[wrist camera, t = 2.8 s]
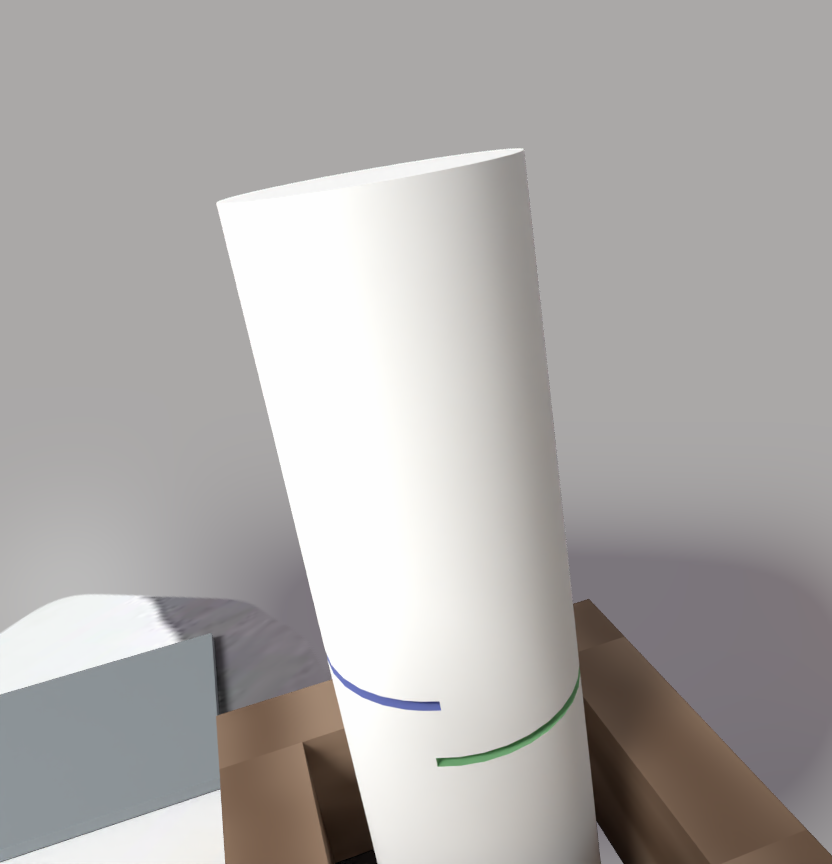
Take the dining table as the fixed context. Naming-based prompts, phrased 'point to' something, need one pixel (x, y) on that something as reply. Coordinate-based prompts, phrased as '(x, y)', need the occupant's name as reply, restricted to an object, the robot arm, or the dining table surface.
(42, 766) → the rubber mat
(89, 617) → the dining table surface
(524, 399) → the cylindrical container
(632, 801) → the frame
